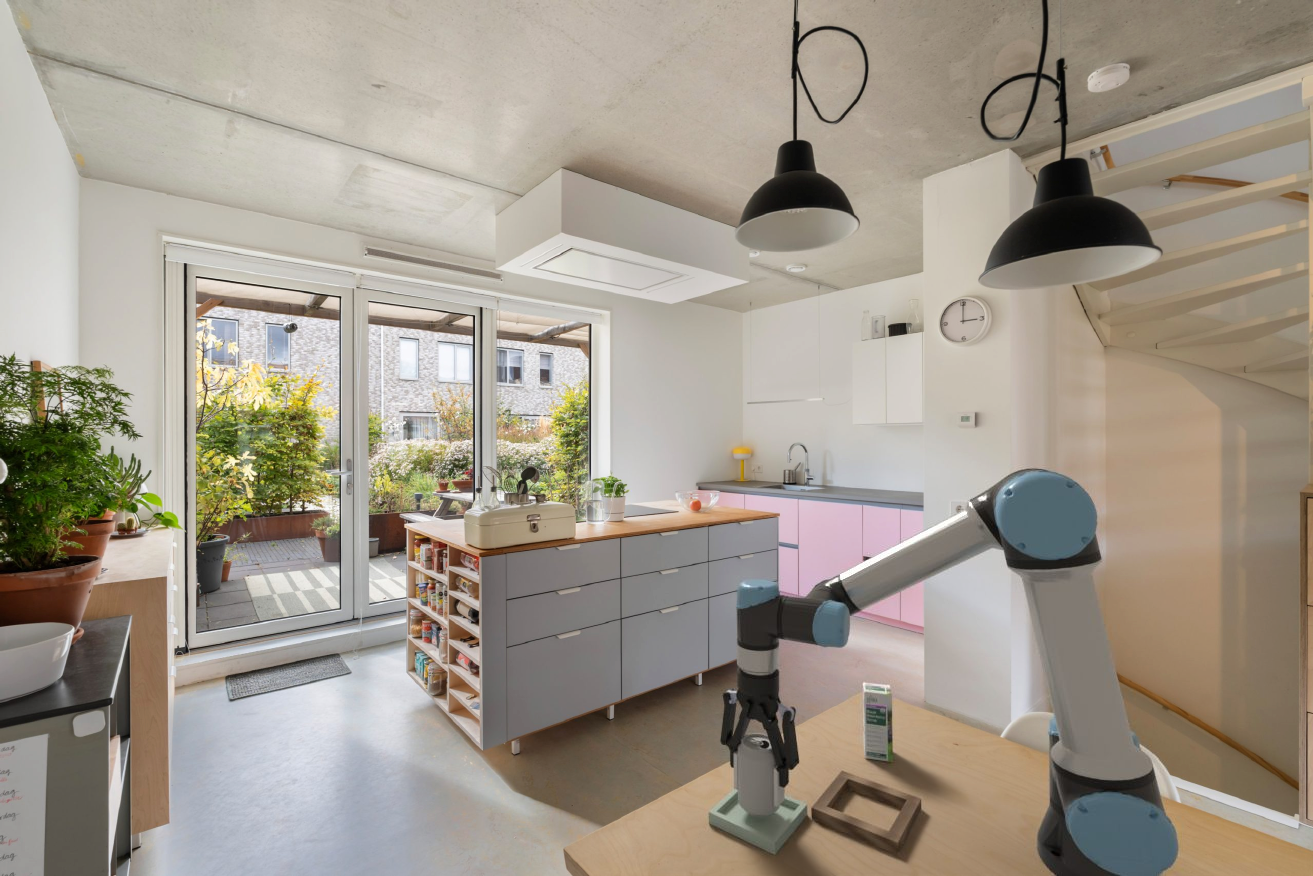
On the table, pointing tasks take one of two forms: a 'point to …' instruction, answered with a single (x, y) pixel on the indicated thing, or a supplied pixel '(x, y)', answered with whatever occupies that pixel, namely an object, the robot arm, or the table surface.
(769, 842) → the tray
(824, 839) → the table surface
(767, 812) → the can
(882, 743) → the syrup box
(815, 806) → the holder
